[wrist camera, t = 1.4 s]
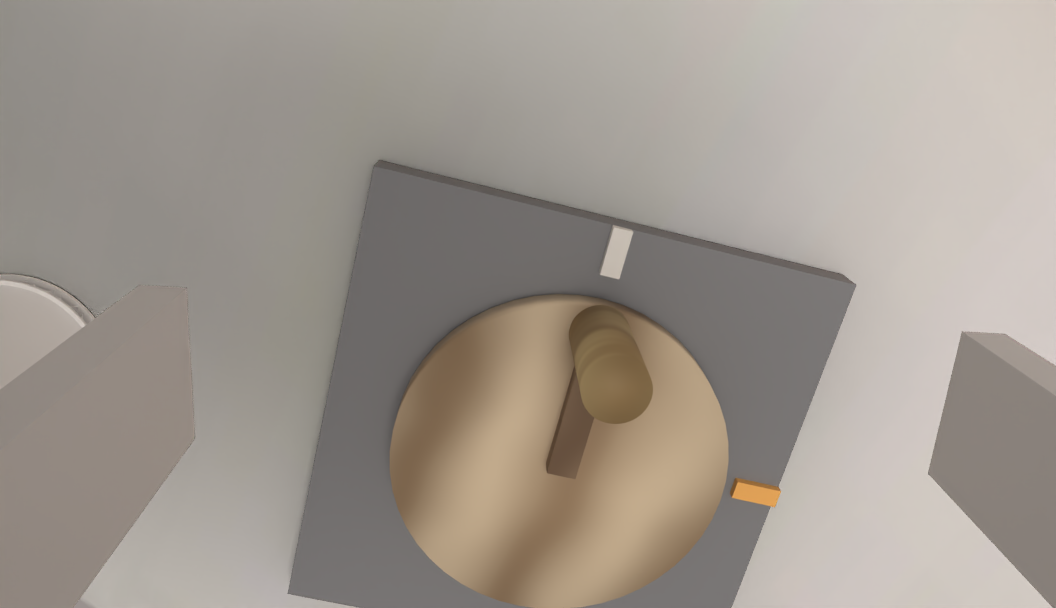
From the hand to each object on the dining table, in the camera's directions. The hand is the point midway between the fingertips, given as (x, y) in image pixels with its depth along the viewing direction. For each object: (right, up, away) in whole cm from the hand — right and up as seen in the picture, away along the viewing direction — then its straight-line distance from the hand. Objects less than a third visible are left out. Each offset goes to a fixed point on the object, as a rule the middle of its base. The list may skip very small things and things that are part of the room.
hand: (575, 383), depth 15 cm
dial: (0, -5, +23) cm, 23 cm away
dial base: (0, -4, +24) cm, 25 cm away
